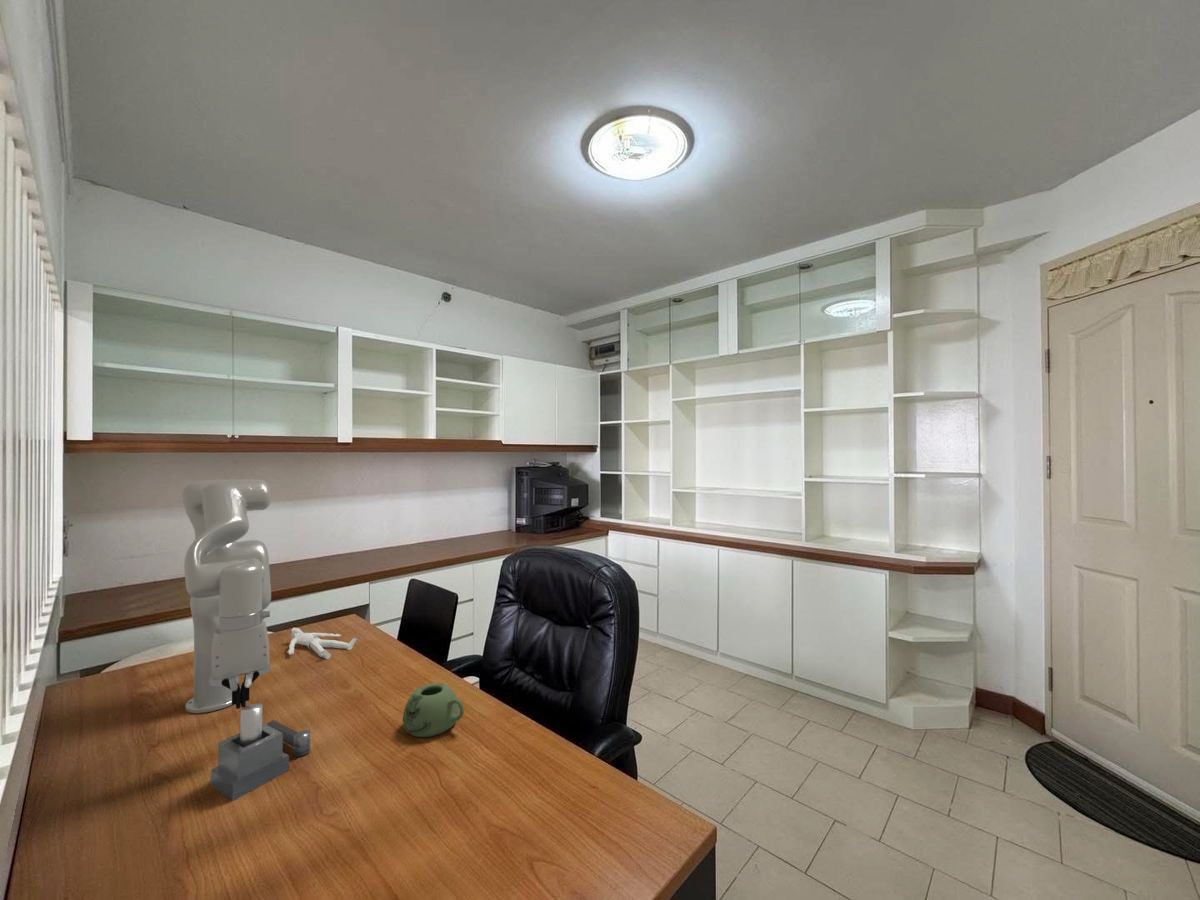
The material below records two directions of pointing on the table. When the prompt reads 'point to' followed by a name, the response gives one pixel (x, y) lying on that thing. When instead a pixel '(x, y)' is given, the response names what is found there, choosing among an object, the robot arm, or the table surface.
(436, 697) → the mug
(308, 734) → the lever
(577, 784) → the table surface
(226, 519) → the robot arm
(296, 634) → the figurine
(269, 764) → the block
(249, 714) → the rod
